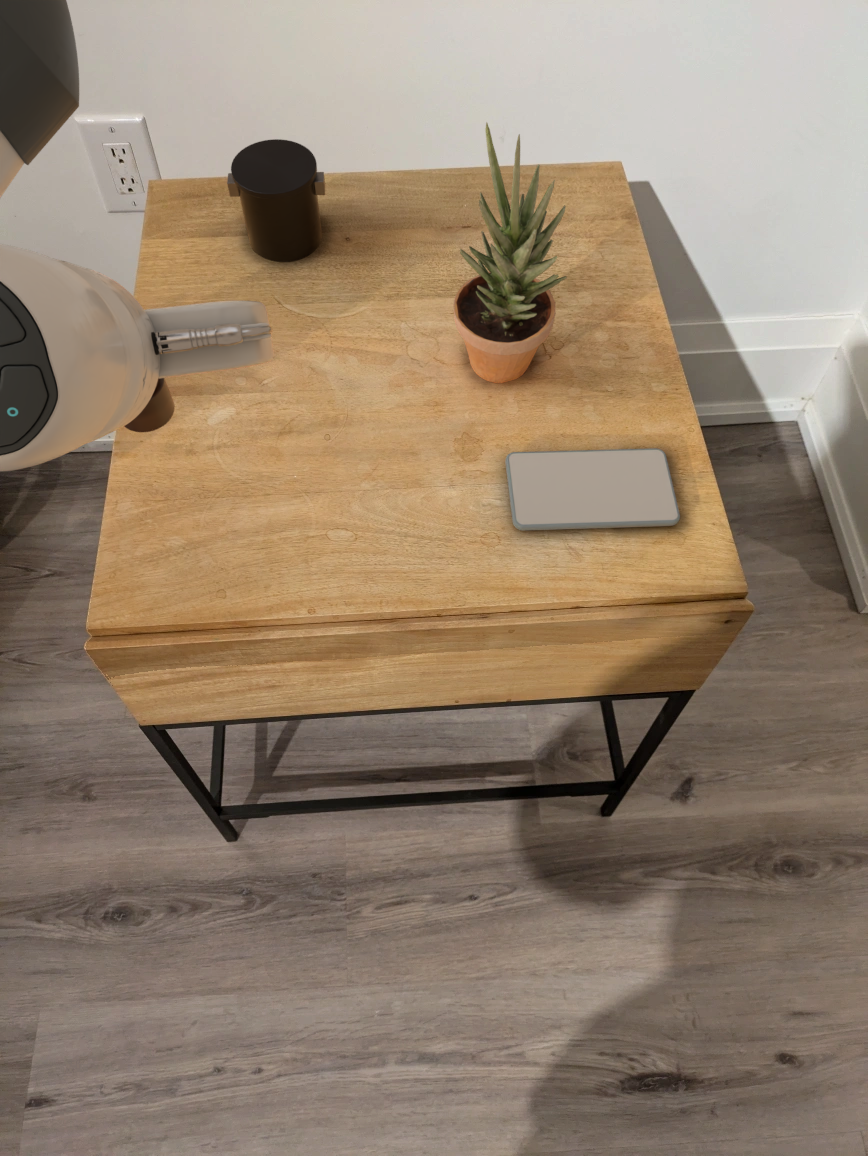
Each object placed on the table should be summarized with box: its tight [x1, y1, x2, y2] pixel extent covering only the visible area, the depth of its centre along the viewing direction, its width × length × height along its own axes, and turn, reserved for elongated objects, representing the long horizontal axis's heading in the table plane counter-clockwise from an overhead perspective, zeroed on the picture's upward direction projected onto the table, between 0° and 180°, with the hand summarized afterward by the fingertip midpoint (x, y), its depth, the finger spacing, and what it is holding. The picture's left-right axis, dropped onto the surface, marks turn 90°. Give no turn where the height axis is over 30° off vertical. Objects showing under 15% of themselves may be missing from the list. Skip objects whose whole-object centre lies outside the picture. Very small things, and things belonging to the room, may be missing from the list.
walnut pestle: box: [123, 378, 176, 433], centre depth 56 cm, size 4×4×10 cm
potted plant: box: [453, 121, 568, 384], centre depth 74 cm, size 10×10×25 cm
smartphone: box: [504, 447, 681, 531], centre depth 77 cm, size 8×1×15 cm
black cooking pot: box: [226, 138, 326, 263], centre depth 89 cm, size 10×9×9 cm
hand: (123, 350), depth 56 cm, fingers closed on walnut pestle, 3 cm apart
